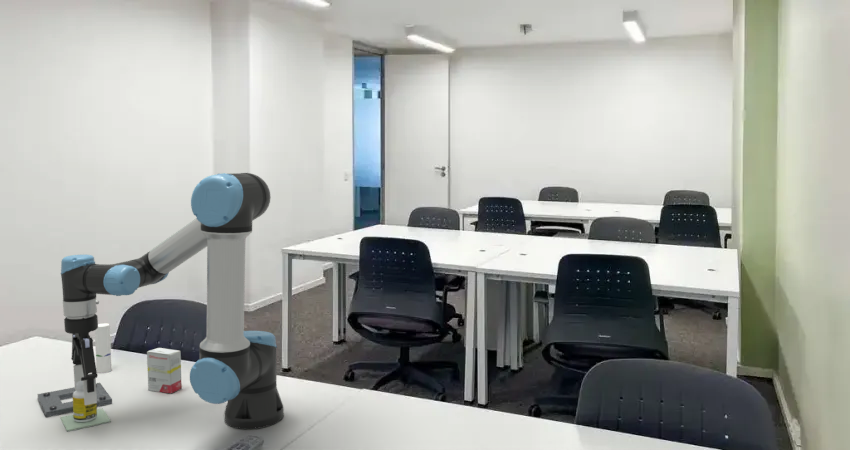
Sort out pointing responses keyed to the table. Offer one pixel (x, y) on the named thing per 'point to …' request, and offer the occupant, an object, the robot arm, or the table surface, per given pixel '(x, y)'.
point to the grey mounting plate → (55, 407)
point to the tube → (103, 348)
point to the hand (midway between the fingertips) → (85, 396)
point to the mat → (74, 425)
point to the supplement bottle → (82, 406)
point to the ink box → (164, 370)
